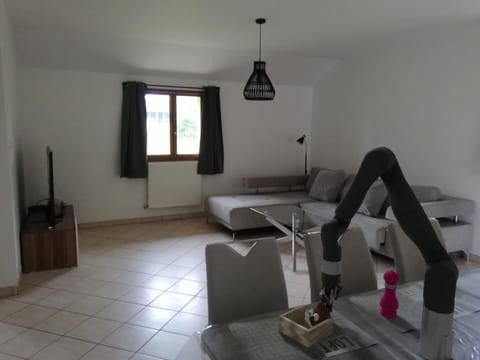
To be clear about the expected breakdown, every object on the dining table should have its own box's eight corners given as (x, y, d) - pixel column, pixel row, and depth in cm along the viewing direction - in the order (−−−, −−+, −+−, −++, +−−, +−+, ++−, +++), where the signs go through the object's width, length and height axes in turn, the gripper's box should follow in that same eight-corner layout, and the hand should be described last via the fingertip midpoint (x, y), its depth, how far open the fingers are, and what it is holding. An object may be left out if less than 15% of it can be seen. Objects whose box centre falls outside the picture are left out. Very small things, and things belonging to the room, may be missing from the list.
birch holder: (332, 333, 145) (333, 318, 144) (307, 347, 136) (308, 331, 135) (302, 318, 156) (303, 304, 155) (278, 330, 147) (278, 315, 146)
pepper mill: (399, 319, 156) (403, 272, 152) (380, 317, 157) (383, 270, 154) (396, 311, 163) (399, 265, 159) (377, 309, 164) (381, 263, 161)
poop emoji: (337, 328, 149) (338, 305, 148) (317, 332, 146) (318, 308, 144) (322, 315, 158) (323, 293, 157) (304, 319, 155) (305, 296, 154)
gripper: (328, 277, 145) (326, 321, 148) (349, 268, 154) (346, 310, 157) (312, 271, 151) (310, 313, 154) (333, 263, 159) (331, 303, 162)
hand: (328, 311), depth 155 cm, fingers closed
